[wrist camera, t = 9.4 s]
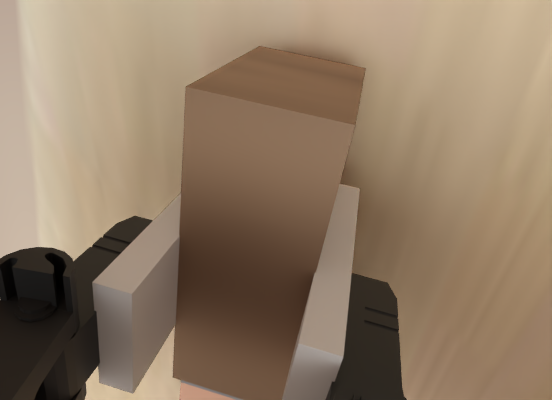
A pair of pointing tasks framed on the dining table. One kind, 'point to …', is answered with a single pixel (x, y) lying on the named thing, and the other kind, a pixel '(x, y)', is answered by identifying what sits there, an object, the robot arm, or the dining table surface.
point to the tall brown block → (256, 213)
